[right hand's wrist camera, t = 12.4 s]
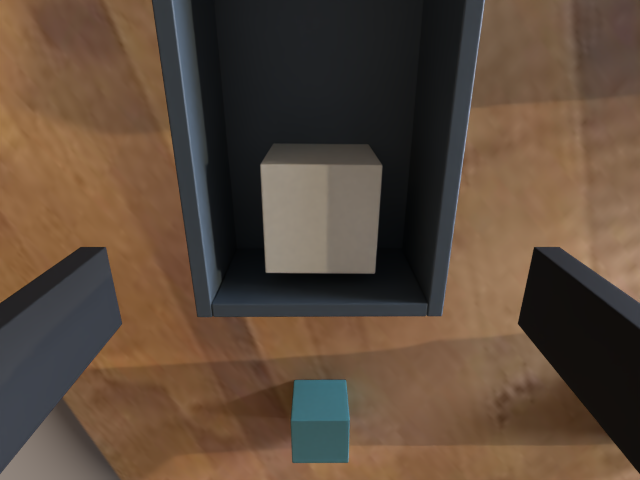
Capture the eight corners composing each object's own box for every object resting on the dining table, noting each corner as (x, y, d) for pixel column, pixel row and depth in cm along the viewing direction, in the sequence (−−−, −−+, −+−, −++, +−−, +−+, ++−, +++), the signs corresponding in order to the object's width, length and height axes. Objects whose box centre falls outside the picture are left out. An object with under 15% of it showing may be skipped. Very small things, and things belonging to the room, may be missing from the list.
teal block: (346, 379, 39) (349, 420, 34) (345, 419, 40) (348, 463, 36) (293, 379, 39) (290, 420, 34) (295, 419, 40) (292, 463, 36)
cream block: (369, 144, 21) (382, 164, 16) (364, 232, 23) (375, 274, 18) (273, 143, 21) (259, 164, 16) (276, 232, 23) (265, 273, 18)
